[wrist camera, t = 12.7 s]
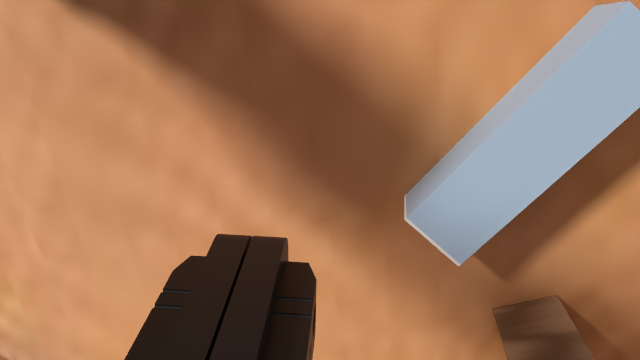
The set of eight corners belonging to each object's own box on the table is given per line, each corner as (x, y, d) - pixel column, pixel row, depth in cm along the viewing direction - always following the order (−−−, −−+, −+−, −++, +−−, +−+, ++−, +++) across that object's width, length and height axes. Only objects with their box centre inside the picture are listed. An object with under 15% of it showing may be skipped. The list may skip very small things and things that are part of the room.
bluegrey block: (458, 266, 32) (692, 60, 26) (404, 219, 32) (629, 0, 26) (451, 237, 37) (648, 57, 31) (404, 195, 37) (594, 5, 31)
